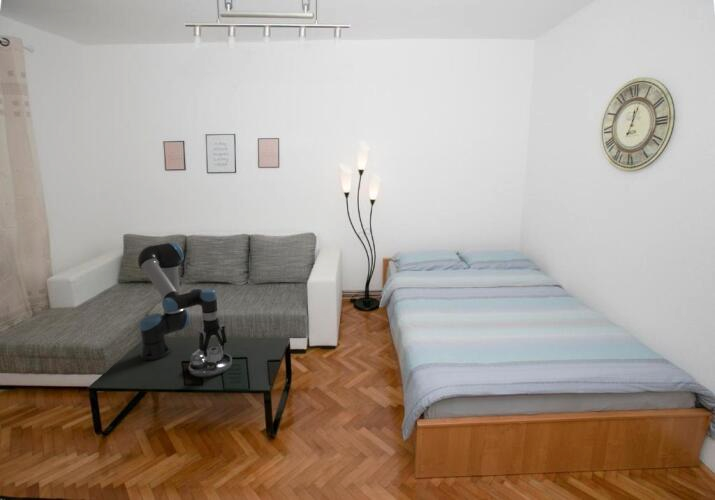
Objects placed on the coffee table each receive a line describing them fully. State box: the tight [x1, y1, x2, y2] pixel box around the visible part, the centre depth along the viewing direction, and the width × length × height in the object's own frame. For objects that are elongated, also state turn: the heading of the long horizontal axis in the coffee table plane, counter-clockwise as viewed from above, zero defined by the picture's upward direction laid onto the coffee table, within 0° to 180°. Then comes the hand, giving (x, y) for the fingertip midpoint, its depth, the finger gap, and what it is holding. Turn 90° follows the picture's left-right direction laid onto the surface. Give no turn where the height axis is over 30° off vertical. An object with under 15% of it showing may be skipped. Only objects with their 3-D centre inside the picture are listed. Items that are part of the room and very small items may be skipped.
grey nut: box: [208, 346, 222, 362], centre depth 211 cm, size 7×7×6 cm
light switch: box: [190, 348, 204, 367], centre depth 220 cm, size 2×12×8 cm, turn 168°
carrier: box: [188, 352, 233, 378], centre depth 216 cm, size 22×22×8 cm
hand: (214, 358), depth 212 cm, fingers closed on grey nut, 7 cm apart
